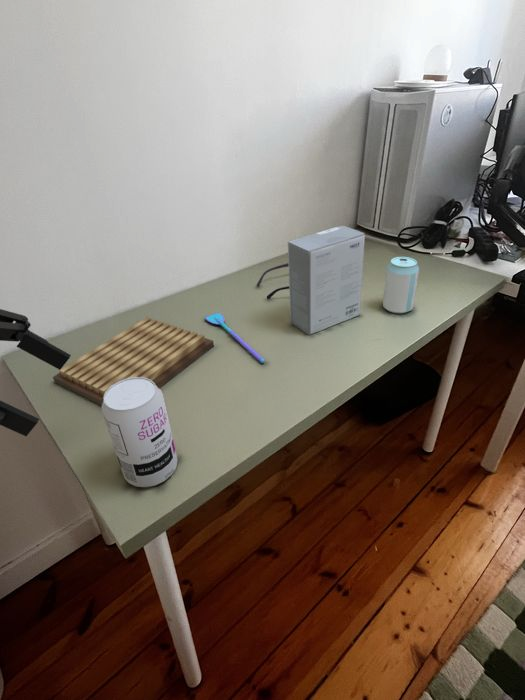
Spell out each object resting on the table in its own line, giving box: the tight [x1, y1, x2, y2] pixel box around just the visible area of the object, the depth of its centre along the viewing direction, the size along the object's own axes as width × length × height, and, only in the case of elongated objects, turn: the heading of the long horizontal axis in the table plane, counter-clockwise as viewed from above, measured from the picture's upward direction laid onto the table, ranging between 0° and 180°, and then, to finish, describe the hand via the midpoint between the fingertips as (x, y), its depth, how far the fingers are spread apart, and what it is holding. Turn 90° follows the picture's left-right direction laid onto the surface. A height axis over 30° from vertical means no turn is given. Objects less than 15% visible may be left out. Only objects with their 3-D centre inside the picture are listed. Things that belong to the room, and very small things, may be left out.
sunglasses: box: [256, 262, 289, 300], centre depth 116 cm, size 14×16×5 cm
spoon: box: [204, 312, 266, 364], centre depth 97 cm, size 25×4×1 cm, turn 35°
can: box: [382, 256, 420, 315], centre depth 101 cm, size 7×7×12 cm
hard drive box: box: [287, 225, 366, 336], centre depth 97 cm, size 16×8×20 cm, turn 123°
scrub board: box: [52, 316, 215, 407], centre depth 90 cm, size 26×20×3 cm
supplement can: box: [101, 377, 178, 488], centre depth 62 cm, size 8×8×15 cm
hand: (51, 392), depth 57 cm, fingers open, 13 cm apart
